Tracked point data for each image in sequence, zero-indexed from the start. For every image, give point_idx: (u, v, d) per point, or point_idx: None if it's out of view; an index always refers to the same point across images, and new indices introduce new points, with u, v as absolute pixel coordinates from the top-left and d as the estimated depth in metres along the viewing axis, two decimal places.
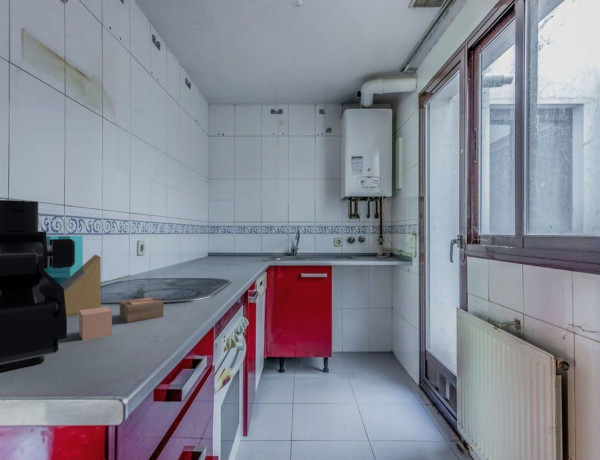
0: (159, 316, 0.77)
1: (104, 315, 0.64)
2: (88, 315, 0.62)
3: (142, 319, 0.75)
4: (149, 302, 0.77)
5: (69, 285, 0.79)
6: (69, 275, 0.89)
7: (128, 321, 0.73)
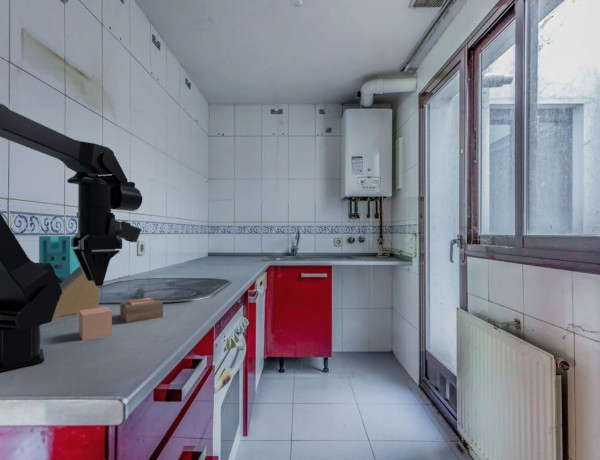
0: (158, 316, 0.77)
1: (104, 315, 0.64)
2: (88, 315, 0.62)
3: (141, 319, 0.75)
4: (149, 302, 0.77)
5: (67, 285, 0.79)
6: None
7: (127, 321, 0.73)
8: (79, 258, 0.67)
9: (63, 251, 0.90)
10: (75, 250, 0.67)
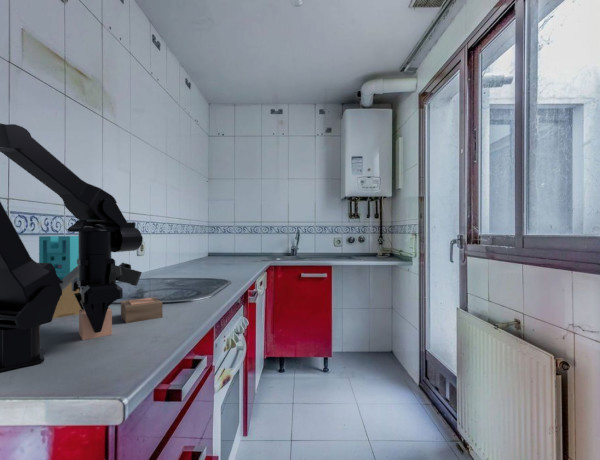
0: (158, 316, 0.77)
1: None
2: None
3: (141, 319, 0.75)
4: (148, 302, 0.77)
5: (65, 285, 0.79)
6: None
7: (126, 321, 0.73)
8: (81, 304, 0.66)
9: (63, 251, 0.90)
10: (77, 296, 0.66)
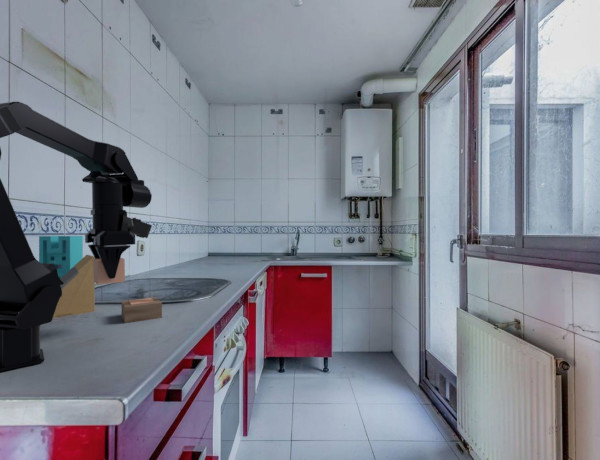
0: (157, 317, 0.77)
1: None
2: None
3: (140, 319, 0.74)
4: (148, 302, 0.77)
5: (63, 285, 0.79)
6: None
7: (125, 321, 0.73)
8: (95, 253, 0.69)
9: (63, 251, 0.90)
10: (91, 246, 0.69)
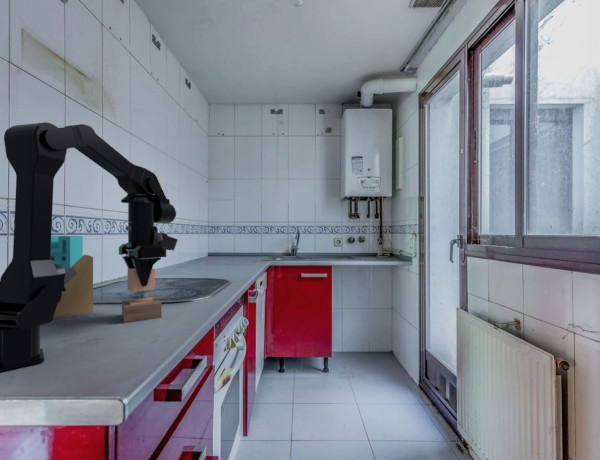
0: (157, 317, 0.77)
1: None
2: None
3: (139, 319, 0.74)
4: (147, 302, 0.77)
5: None
6: None
7: (125, 321, 0.73)
8: (129, 264, 0.79)
9: (63, 251, 0.90)
10: (125, 258, 0.79)
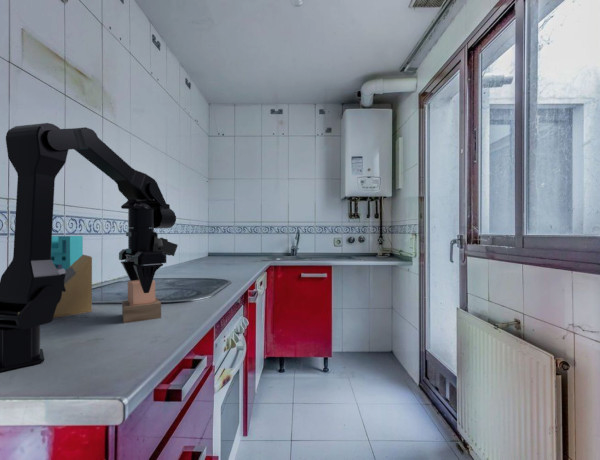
0: (156, 317, 0.76)
1: None
2: (137, 284, 0.75)
3: (139, 320, 0.74)
4: (147, 303, 0.77)
5: None
6: None
7: (124, 321, 0.73)
8: (127, 269, 0.80)
9: (63, 251, 0.90)
10: (124, 263, 0.80)
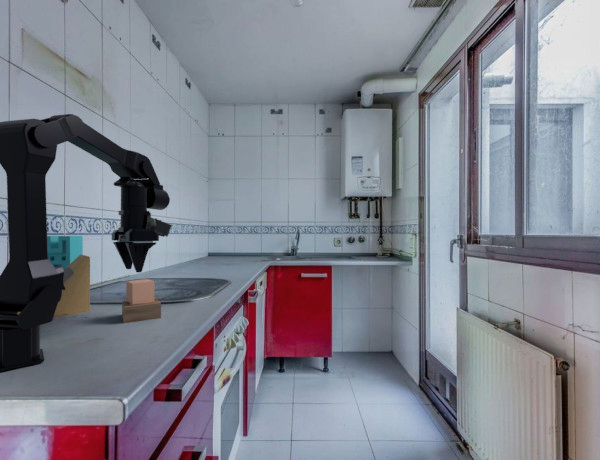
0: (156, 317, 0.76)
1: (148, 284, 0.77)
2: (136, 284, 0.75)
3: (138, 320, 0.74)
4: (147, 303, 0.77)
5: None
6: None
7: (124, 321, 0.73)
8: (119, 249, 0.79)
9: (63, 251, 0.90)
10: (116, 243, 0.79)
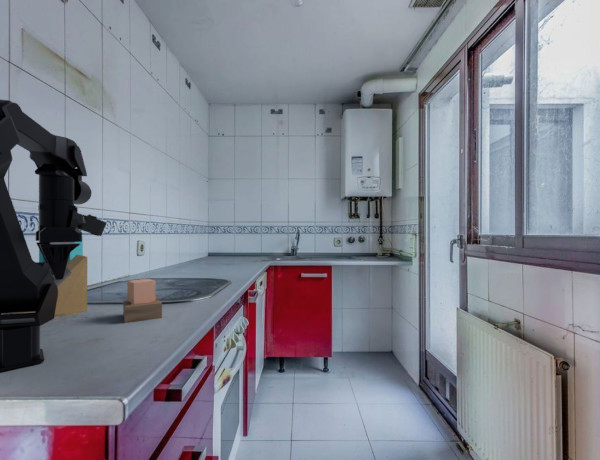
0: (157, 317, 0.76)
1: (149, 284, 0.78)
2: (138, 283, 0.76)
3: (140, 319, 0.74)
4: (148, 302, 0.77)
5: None
6: None
7: (125, 321, 0.73)
8: (43, 251, 0.66)
9: None
10: (38, 244, 0.66)
